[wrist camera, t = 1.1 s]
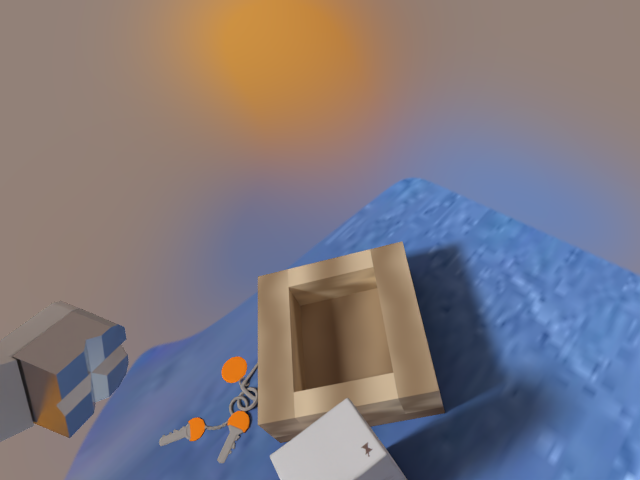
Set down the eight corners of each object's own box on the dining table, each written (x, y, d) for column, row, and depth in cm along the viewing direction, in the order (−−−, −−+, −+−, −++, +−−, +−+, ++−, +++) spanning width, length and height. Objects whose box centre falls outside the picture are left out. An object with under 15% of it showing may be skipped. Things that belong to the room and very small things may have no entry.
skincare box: (384, 446, 39) (349, 393, 30) (418, 496, 36) (391, 454, 27) (322, 494, 38) (266, 454, 29) (351, 548, 35) (300, 523, 26)
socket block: (410, 271, 48) (402, 241, 44) (445, 413, 39) (439, 390, 35) (276, 302, 50) (258, 276, 46) (280, 442, 41) (258, 424, 37)
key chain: (249, 334, 49) (246, 330, 48) (300, 374, 45) (297, 370, 44) (156, 440, 45) (151, 437, 44) (202, 494, 41) (197, 492, 40)
